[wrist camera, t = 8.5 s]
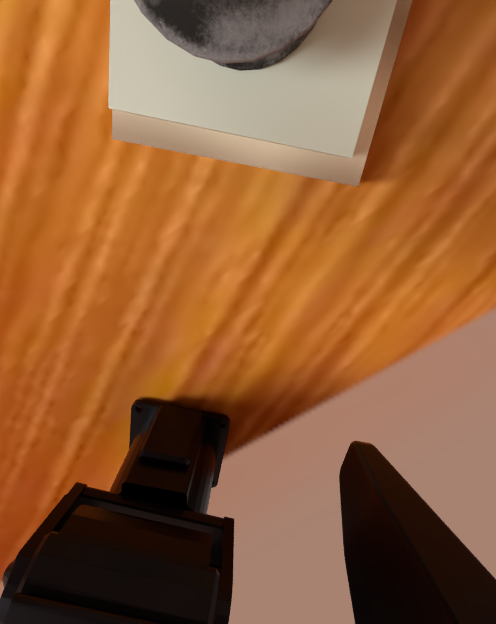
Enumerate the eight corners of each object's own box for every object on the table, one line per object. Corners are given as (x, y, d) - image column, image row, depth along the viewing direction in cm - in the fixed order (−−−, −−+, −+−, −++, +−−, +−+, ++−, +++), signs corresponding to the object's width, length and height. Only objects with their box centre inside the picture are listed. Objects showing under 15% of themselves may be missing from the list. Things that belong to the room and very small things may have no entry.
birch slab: (347, 181, 18) (358, 186, 16) (132, 140, 18) (111, 138, 16) (432, -124, 13) (465, -179, 11) (143, -184, 13) (116, -252, 11)
